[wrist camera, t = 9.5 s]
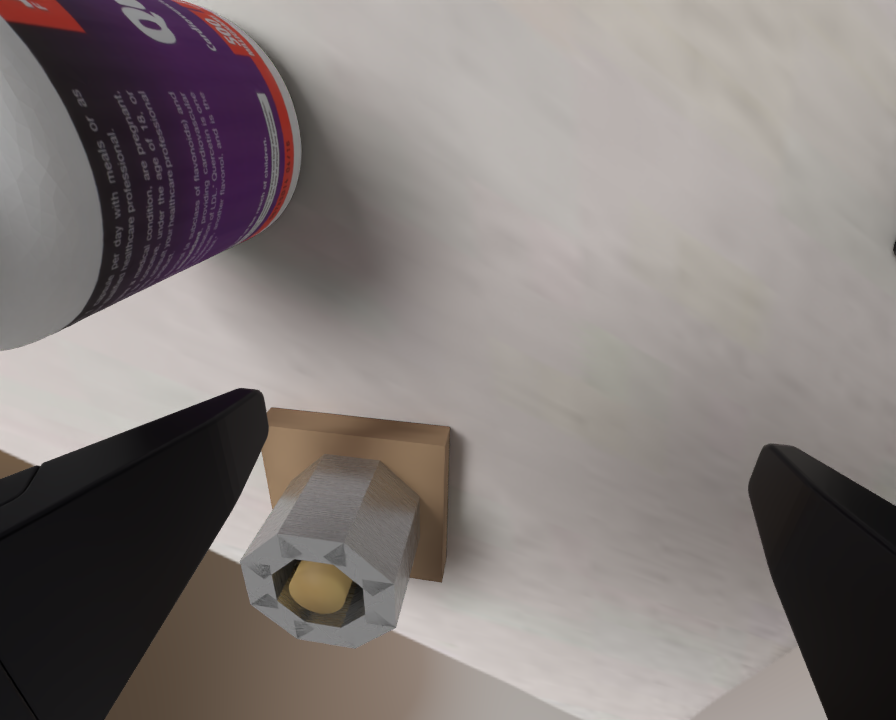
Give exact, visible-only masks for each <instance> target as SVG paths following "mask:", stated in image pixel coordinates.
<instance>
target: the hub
mask: <svg viewBox="0 0 896 720" xmlns="http://www.w3.org/2000/svg"><path fill="white" fill-rule="evenodd" d="M419 539H420V496H419V495H418V494H417V493H416V492H415V491H413V490H412V489H411V488H410V487H409V486H408V485H407V484H406V483H404V482H403V481H402V480H401V479H400V478H399V477H398V476H397V475H396V474H394V473H393V472H392V471H391V470H390V469H389V468H388V467H387V466H386V465H384V464H383V463H382V462H381V461H380V460H373V459H364V458H356V457H347V456H339V455H330V454H324V455H323V456H321V457H320V458H319V459H318V460H316V461H315V462H314V463H313V464H311V465H310V466H309V467H308V468H306V469H305V470H304V471H303V472H301V473H300V474H299V475H298V476H296V477H295V478H294V479H293V480H291V482H290V484H289V485H288V487H287V488H286V490H285V491H284V493H283V494H282V496H281V498H280V499H279V501H278V502H277V504H276V505H275V507H274V508H273V510H272V512H271V513H270V515H269V516H268V518H267V519H266V521H265V523H264V524H263V526H262V527H261V529H260V530H259V532H258V533H257V535H256V537H255V538H254V540H253V541H252V543H251V544H250V546H249V547H248V549H247V551H246V552H245V554H244V555H243V557H242V558H241V560H240V564H241V567H242V572H243V576H244V580H245V584H246V588H247V592H248V596H249V600H250V604H251V605H252V606H253V607H255V608H256V609H258V610H259V611H260V612H262V613H263V614H264V615H266V616H267V617H268V618H270V619H271V620H272V621H274V622H275V623H277V624H278V625H279V626H281V627H282V628H283V629H285V630H286V631H287V632H289V633H290V634H291V635H293V636H294V637H295V638H297V639H301V640H307V641H313V642H319V643H325V644H331V645H337V646H343V647H349V648H357V647H359V646H361V645H363V644H365V643H367V642H369V641H371V640H373V639H375V638H377V637H379V636H381V635H383V634H385V633H387V632H389V631H391V630H393V629H395V628H396V626H397V622H398V618H399V615H400V611H401V607H402V603H403V600H404V596H405V592H406V588H407V584H408V581H409V577H410V573H411V569H412V566H413V562H414V558H415V554H416V551H417V547H418V543H419ZM301 560H304V561H311V562H318V563H325V564H332V565H334V566H335V567H337V568H338V569H339V570H340V571H342V572H343V573H344V574H345V575H347V576H348V577H349V578H350V579H352V580H353V581H352V584H351V586H350V589H349V592H348V594H347V597H346V599H345V602H344V605H343V607H342V608H341V609H340V610H338V611H336V612H334V613H329V614H322V613H316V612H313V611H310V610H308V609H305V608H304V607H302V606H301V605H299V604H298V603H297V602H296V601H295V600H294V599H293V598H292V596H291V594H290V591H289V584H290V582H291V580H292V578H293V576H294V574H295V572H296V570H297V568H298V566H299V564H300V562H301Z"/></svg>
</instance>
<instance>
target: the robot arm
mask: <svg viewBox="0 0 896 720" xmlns="http://www.w3.org/2000/svg"><path fill="white" fill-rule="evenodd" d="M893 251H894V254H895V255H896V242H895V244H894V249H893ZM268 432H269V424H268V418H267V412H266V406H265V401H264V396H263V394H262V392H260V391H259V390H255V389H246V388H238V389H235V390H233V391H230V392H227V393H225V394H222V395H220V396H217V397H214V398H212V399H209V400H207V401H204V402H201V403H199V404H196V405H193V406H191V407H188V408H186V409H183V410H180V411H178V412H175V413H173V414H170V415H167V416H165V417H162V418H159V419H157V420H154V421H152V422H149V423H146V424H144V425H141V426H139V427H136V428H133V429H131V430H128V431H125V432H123V433H120V434H118V435H115V436H112V437H110V438H107V439H105V440H102V441H99V442H97V443H94V444H91V445H89V446H86V447H84V448H81V449H78V450H76V451H73V452H71V453H68V454H65V455H63V456H60V457H57V458H55V459H52V460H50V461H47V462H44V463H43V464H42V465H41V466H34V467H31V468H29V469H26V470H23V471H21V472H18V473H15V474H13V475H10V476H8V477H5V478H2V479H0V720H104V719H105V718H106V716H107V714H108V713H109V711H110V709H111V708H112V706H113V705H114V703H115V701H116V700H117V698H118V696H119V695H120V693H121V691H122V690H123V688H124V687H125V685H126V683H127V682H128V680H129V678H130V677H131V675H132V673H133V672H134V670H135V669H136V667H137V665H138V664H139V662H140V660H141V659H142V657H143V656H144V654H145V652H146V650H147V649H148V647H149V646H150V644H151V642H152V641H153V639H154V638H155V636H156V634H157V632H158V630H159V629H160V628H161V626H162V624H163V623H164V621H165V620H166V618H167V616H168V615H169V613H170V611H171V610H172V608H173V606H174V605H175V603H176V602H177V600H178V598H179V597H180V595H181V593H182V592H183V590H184V588H185V587H186V585H187V584H188V582H189V580H190V579H191V577H192V575H193V574H194V572H195V570H196V569H197V567H198V565H199V564H200V562H201V561H202V559H203V557H204V556H205V554H206V552H207V551H208V549H209V548H210V546H211V544H212V543H213V541H214V539H215V538H216V536H217V534H218V533H219V531H220V530H221V528H222V526H223V525H224V523H225V521H226V520H227V518H228V516H229V515H230V513H231V511H232V510H233V508H234V506H235V504H236V502H237V501H238V499H239V497H240V495H241V493H242V491H243V488H244V486H245V484H246V482H247V480H248V478H249V476H250V473H251V471H252V469H253V467H254V465H255V463H256V461H257V459H258V456H259V454H260V452H261V450H262V448H263V446H264V444H265V442H266V439H267V437H268ZM748 492H749V498H750V501H751V505H752V509H753V512H754V516H755V520H756V523H757V527H758V531H759V534H760V538H761V542H762V545H763V549H764V553H765V557H766V560H767V564H768V567H769V570H770V574H771V577H772V580H773V582H774V585H775V588H776V590H777V593H778V595H779V598H780V600H781V603H782V605H783V608H784V610H785V613H786V616H787V618H788V621H789V623H790V626H791V628H792V631H793V633H794V636H795V638H796V641H797V643H798V646H799V648H800V650H801V653H802V656H803V658H804V661H805V663H806V666H807V668H808V671H809V673H810V676H811V678H812V681H813V683H814V685H815V688H816V691H817V693H818V696H819V698H820V701H821V703H822V706H823V708H824V711H825V713H826V716H827V718H828V720H896V506H895V505H893V504H891V503H890V502H888V501H886V500H885V499H883V498H881V497H879V496H878V495H876V494H874V493H873V492H871V491H869V490H868V489H866V488H864V487H862V486H861V485H859V484H857V483H856V482H854V481H852V480H851V479H849V478H847V477H845V476H844V475H842V474H840V473H839V472H837V471H835V470H834V469H832V468H830V467H829V466H827V465H825V464H823V463H822V462H820V461H818V460H817V459H815V458H813V457H812V456H810V455H808V454H806V453H805V452H803V451H801V450H800V449H798V448H796V447H794V446H789V445H780V444H767V445H765V446H764V447H763V448H762V450H761V452H760V454H759V457H758V460H757V462H756V465H755V467H754V470H753V472H752V475H751V478H750V480H749V485H748Z"/></svg>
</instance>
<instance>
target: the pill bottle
mask: <svg viewBox="0 0 896 720" xmlns="http://www.w3.org/2000/svg"><path fill="white" fill-rule="evenodd" d="M300 167H301V137H300V130H299V125H298V120H297V116H296V113H295V109H294V105H293V102H292V99H291V97H290V94H289V92H288V90H287V87H286V85H285V83H284V81H283V79H282V77H281V76H280V74H279V72H278V71H277V69H276V67H275V66H274V64H273V63H272V61H271V60H270V59H269V57H268V56H267V55H266V54H265V52H264V51H263V50H262V49H261V48H260V47H259V46H258V44H257V43H256V42H255V41H254V40H253V39H252V38H250V37H249V36H248V35H247V34H246V33H245V32H244V31H243V30H241V29H240V28H239V27H238V26H236V25H235V24H233V23H232V22H230V21H229V20H227V19H226V18H224V17H222V16H220V15H219V14H217V13H215V12H213V11H211V10H209V9H206V8H204V7H201V6H197V5H194V4H191V3H188V2H185V1H181V0H0V351H3V350H10V349H14V348H18V347H22V346H25V345H28V344H31V343H34V342H36V341H38V340H41V339H43V338H45V337H47V336H49V335H52V334H54V333H57V332H59V331H60V330H62V329H64V328H66V327H69V326H71V325H73V324H75V323H76V322H78V321H80V320H82V319H84V318H86V317H88V316H90V315H92V314H94V313H96V312H98V311H100V310H103V309H105V308H107V307H109V306H111V305H113V304H115V303H117V302H119V301H121V300H123V299H125V298H127V297H129V296H131V295H133V294H135V293H137V292H139V291H142V290H144V289H146V288H148V287H150V286H152V285H154V284H156V283H158V282H160V281H162V280H164V279H166V278H168V277H170V276H172V275H175V274H177V273H179V272H181V271H183V270H185V269H187V268H189V267H191V266H193V265H196V264H198V263H200V262H202V261H204V260H206V259H208V258H210V257H212V256H214V255H216V254H218V253H220V252H222V251H224V250H227V249H229V248H231V247H233V246H235V245H238V244H240V243H242V242H244V241H246V240H248V239H250V238H252V237H253V236H255V235H257V234H259V233H261V232H262V231H264V230H265V229H266V228H268V227H269V226H270V225H271V224H272V223H274V222H275V221H276V220H277V219H278V218H279V216H280V215H281V214H282V212H283V211H284V210H285V208H286V207H287V205H288V203H289V202H290V200H291V198H292V196H293V193H294V191H295V188H296V185H297V182H298V177H299V173H300Z"/></svg>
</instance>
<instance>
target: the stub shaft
mask: <svg viewBox="0 0 896 720" xmlns="http://www.w3.org/2000/svg"><path fill="white" fill-rule="evenodd" d="M267 418H268V424H269V432H268V437H267V439H266V442H265V444H264V446H263V448H262V450H261V451H262V456H263V461H264V467H265V472H266V477H267V483H268V488H269V493H270V499H271V504H272V509H273V508H274V507H275V505H276V504H277V502H278V501H279V499H280V498H281V496H282V494H283V493H284V491H285V490H286V488H287V487H288V485H289V484H290V482H291V480H293V479H294V478H295V477H296V476H298V475H299V474H300V473H301V472H303V471H304V470H305V469H306V468H308V467H309V466H310V465H311V464H313V463H314V462H315V461H316V460H318V459H319V458H320V457H321V456H323V455H324V454H330V455H339V456H347V457H356V458H364V459H373V460H380V461H381V462H382V463H383V464H384V465H386V466H387V467H388V468H389V469H390V470H391V471H392V472H393V473H394V474H396V475H397V476H398V477H399V478H400V479H401V480H402V481H403V482H404V483H406V484H407V485H408V486H409V487H410V488H411V489H412V490H413V491H415V492H416V493H417V494H418V495H419V496H420V539H419V543H418V547H417V551H416V554H415V558H414V562H413V566H412V569H411V573H410V577H409V578H416V579H422V580H429V581H436V582H442V578H443V573H444V568H445V563H446V546H447V511H448V476H449V442H450V427H445V426H436V425H427V424H418V423H409V422H399V421H390V420H381V419H372V418H363V417H354V416H344V415H335V414H326V413H317V412H308V411H298V410H289V409H280V408H271V409H270V410H269V411H268V412H267ZM352 581H353V580H352V579H350V578H349V577H348V576H347V575H345V574H344V573H343V572H342V571H340V570H339V569H338V568H337V567H335V566H334V565H332V564H325V563H318V562H311V561H304V560H301V562H300V564H299V566H298V568H297V570H296V572H295V574H294V576H293V578H292V580H291V582H290V584H289V591H290V594H291V596H292V598H293V599H294V600H295V601H296V602H297V603H298V604H299V605H301V606H302V607H304V608H305V609H308V610H310V611H313V612H316V613H322V614H329V613H334V612H336V611H338V610H340V609H341V608H342V607H343V605H344V602H345V599H346V597H347V594H348V592H349V589H350V586H351V584H352Z"/></svg>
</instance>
